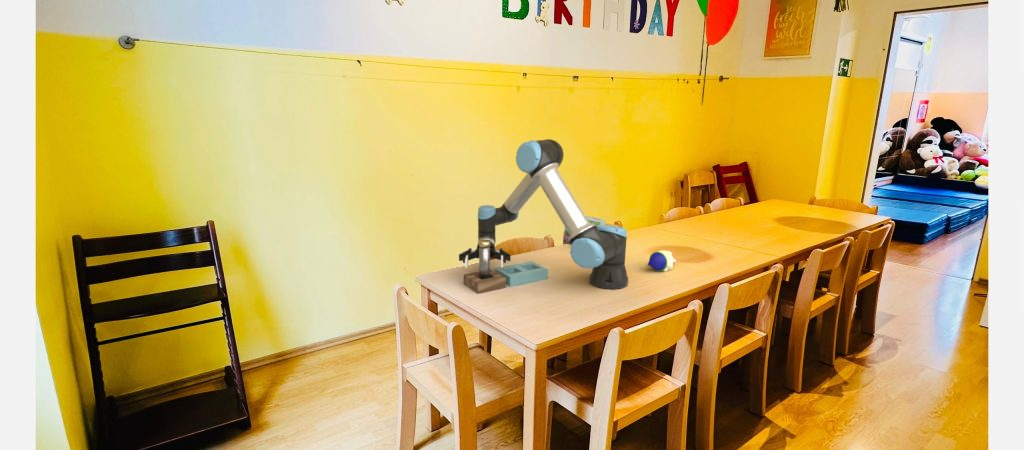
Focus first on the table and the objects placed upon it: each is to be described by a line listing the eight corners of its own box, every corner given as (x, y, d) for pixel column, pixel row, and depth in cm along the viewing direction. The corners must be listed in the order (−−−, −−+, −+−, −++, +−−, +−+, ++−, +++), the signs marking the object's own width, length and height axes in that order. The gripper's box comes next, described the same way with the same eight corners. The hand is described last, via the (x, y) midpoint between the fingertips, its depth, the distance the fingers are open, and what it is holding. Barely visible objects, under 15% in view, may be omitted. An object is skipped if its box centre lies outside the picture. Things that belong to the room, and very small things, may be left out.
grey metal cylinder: (492, 286, 193) (492, 241, 188) (482, 288, 190) (482, 243, 186) (486, 283, 196) (486, 239, 192) (476, 285, 194) (476, 240, 190)
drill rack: (548, 278, 202) (548, 269, 201) (510, 286, 192) (510, 277, 192) (531, 270, 212) (531, 261, 211) (494, 277, 202) (494, 268, 201)
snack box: (563, 243, 253) (564, 214, 249) (569, 241, 257) (570, 212, 253) (598, 251, 239) (600, 221, 235) (604, 249, 243) (606, 219, 239)
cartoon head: (676, 272, 219) (651, 281, 206) (660, 257, 224) (635, 264, 211) (687, 258, 214) (662, 266, 201) (671, 243, 219) (646, 250, 206)
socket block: (505, 287, 191) (505, 277, 190) (478, 293, 185) (478, 283, 184) (490, 278, 201) (490, 269, 200) (463, 283, 195) (463, 274, 194)
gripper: (515, 256, 210) (516, 273, 189) (456, 256, 209) (451, 273, 189) (515, 239, 208) (517, 254, 187) (455, 239, 207) (450, 254, 187)
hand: (484, 263), depth 188 cm, fingers open, 13 cm apart
